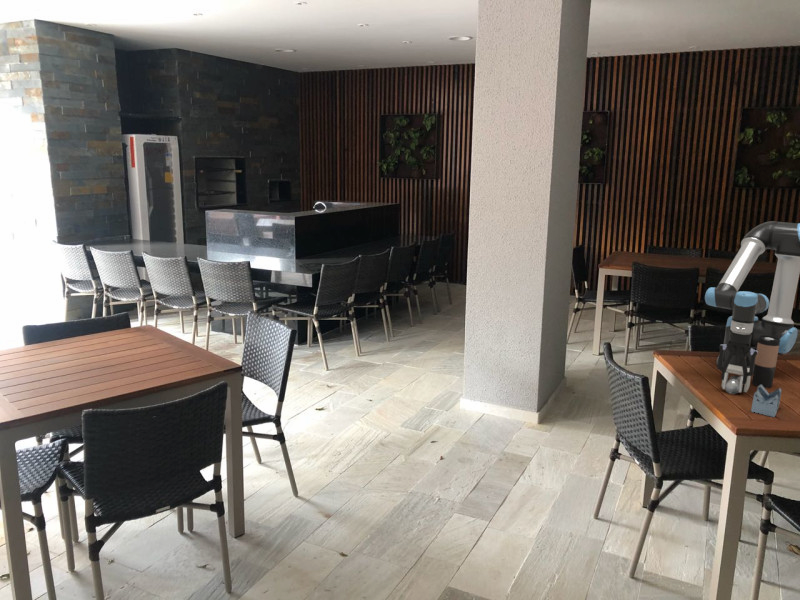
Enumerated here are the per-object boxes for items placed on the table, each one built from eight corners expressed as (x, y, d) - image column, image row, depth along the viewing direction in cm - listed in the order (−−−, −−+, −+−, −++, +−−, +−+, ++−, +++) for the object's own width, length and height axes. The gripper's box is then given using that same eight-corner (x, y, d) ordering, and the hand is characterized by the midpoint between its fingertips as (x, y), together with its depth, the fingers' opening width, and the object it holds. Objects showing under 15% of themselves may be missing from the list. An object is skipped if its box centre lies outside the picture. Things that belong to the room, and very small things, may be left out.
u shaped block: (724, 382, 264) (727, 363, 262) (749, 387, 258) (752, 368, 257) (721, 387, 258) (724, 367, 256) (746, 392, 253) (749, 372, 251)
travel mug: (765, 382, 266) (773, 335, 262) (776, 388, 259) (784, 340, 255) (747, 381, 266) (754, 334, 262) (757, 387, 258) (765, 339, 254)
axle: (728, 386, 260) (730, 374, 259) (742, 388, 257) (744, 376, 256) (723, 392, 252) (725, 380, 251) (738, 395, 249) (739, 383, 248)
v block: (756, 402, 242) (759, 383, 240) (778, 407, 238) (781, 388, 236) (751, 411, 232) (754, 392, 231) (774, 417, 228) (777, 397, 226)
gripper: (713, 329, 249) (705, 386, 254) (766, 338, 239) (756, 397, 243) (717, 326, 255) (709, 382, 260) (768, 334, 244) (759, 392, 249)
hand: (732, 389), depth 252 cm, fingers closed on axle, 5 cm apart
